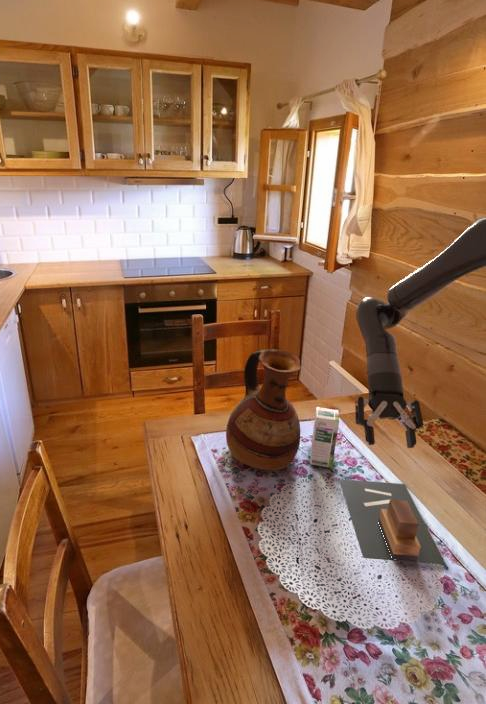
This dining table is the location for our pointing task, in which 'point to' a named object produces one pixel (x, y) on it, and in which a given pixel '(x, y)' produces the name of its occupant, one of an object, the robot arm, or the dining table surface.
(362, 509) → the slate board
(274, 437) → the ceramic pitcher
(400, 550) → the eraser
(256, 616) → the dining table surface
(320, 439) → the syrup box
